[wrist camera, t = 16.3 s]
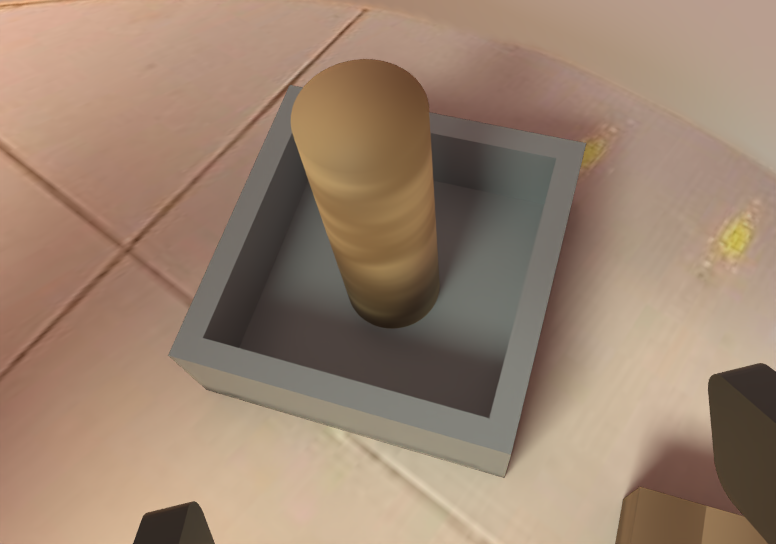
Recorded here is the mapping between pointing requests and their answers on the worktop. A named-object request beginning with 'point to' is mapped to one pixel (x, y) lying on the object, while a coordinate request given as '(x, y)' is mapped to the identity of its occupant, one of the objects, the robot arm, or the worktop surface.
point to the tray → (384, 345)
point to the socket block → (679, 522)
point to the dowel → (373, 185)
